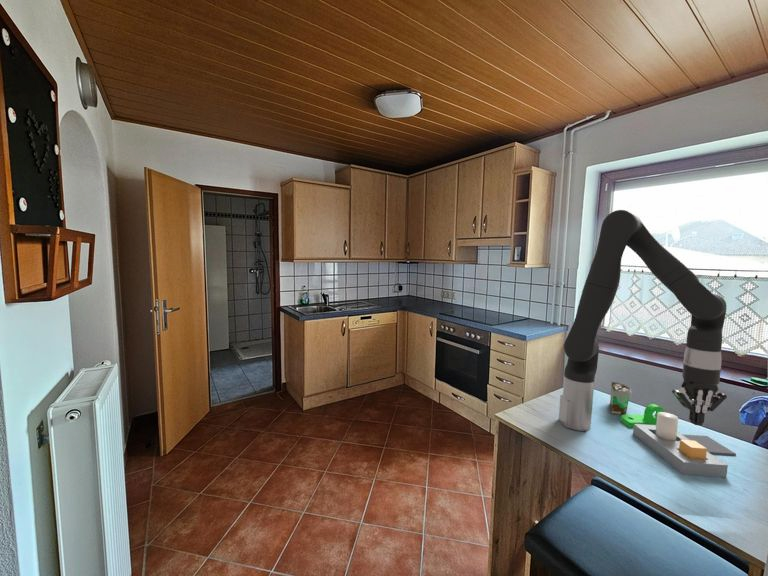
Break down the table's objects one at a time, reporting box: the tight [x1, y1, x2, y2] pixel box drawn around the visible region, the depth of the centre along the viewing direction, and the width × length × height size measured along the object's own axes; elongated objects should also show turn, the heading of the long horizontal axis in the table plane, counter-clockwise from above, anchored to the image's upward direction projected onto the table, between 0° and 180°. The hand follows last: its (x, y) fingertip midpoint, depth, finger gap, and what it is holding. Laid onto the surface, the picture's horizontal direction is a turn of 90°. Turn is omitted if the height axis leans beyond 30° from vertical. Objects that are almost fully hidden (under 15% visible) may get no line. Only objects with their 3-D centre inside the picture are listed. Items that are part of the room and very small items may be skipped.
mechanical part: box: [620, 403, 665, 428], centre depth 118 cm, size 12×6×8 cm, turn 90°
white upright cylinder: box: [655, 411, 679, 441], centre depth 104 cm, size 5×5×10 cm
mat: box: [682, 434, 737, 456], centre depth 105 cm, size 10×10×1 cm
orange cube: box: [679, 440, 707, 460], centre depth 94 cm, size 4×4×4 cm
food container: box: [609, 380, 633, 416], centre depth 127 cm, size 12×6×10 cm, turn 148°
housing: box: [632, 424, 729, 478], centre depth 100 cm, size 11×21×4 cm, turn 174°
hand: (696, 423), depth 93 cm, fingers closed
